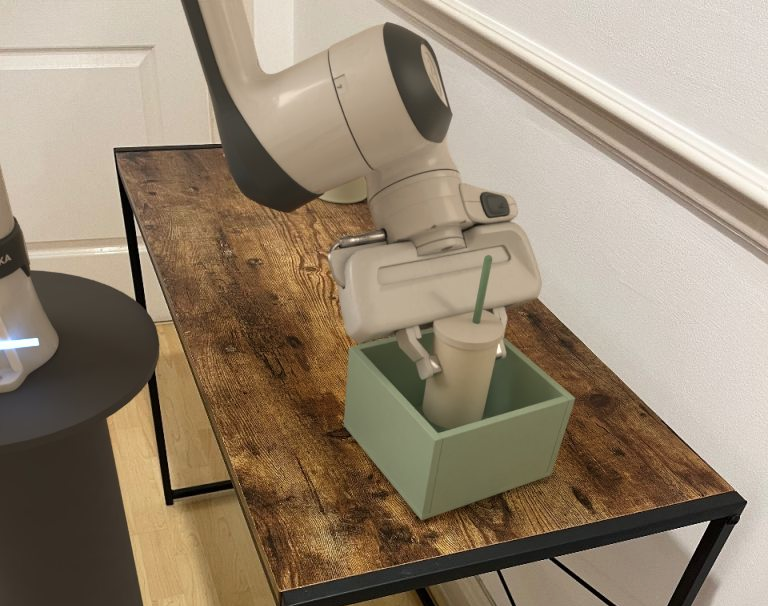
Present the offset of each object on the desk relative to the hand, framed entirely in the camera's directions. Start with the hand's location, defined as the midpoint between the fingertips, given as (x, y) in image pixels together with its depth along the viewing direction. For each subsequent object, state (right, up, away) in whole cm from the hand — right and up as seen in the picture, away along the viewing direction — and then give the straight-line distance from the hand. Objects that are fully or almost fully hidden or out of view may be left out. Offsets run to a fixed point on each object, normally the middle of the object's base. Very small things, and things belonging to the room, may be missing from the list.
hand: (465, 368), depth 73 cm
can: (-15, +38, +53) cm, 67 cm away
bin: (-1, -7, +8) cm, 10 cm away
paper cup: (-1, -3, +4) cm, 5 cm away
